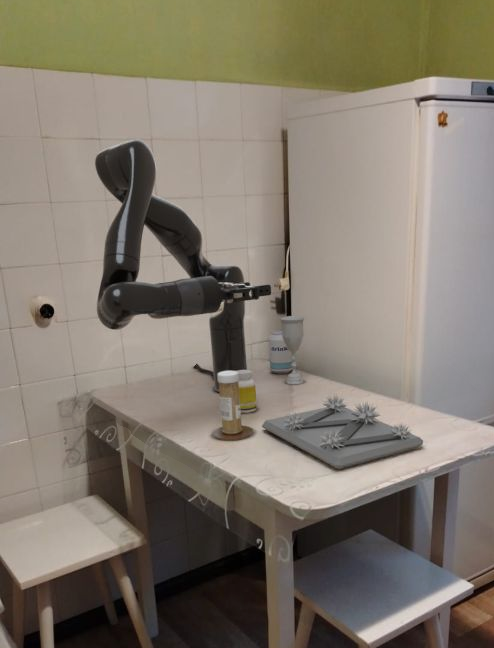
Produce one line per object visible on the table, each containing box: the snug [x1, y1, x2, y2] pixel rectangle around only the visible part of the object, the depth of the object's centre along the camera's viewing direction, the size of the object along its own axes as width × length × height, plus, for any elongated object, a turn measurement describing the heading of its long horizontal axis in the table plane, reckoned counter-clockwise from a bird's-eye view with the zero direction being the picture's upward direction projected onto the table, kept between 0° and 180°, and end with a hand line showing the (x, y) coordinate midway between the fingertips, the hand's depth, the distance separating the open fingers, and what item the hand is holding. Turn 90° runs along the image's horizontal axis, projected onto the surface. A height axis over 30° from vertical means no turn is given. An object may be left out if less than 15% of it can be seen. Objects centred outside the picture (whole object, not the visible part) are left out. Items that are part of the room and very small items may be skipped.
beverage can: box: [268, 330, 293, 375], centre depth 192 cm, size 7×7×12 cm
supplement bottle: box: [237, 369, 258, 414], centre depth 157 cm, size 5×5×10 cm
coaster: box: [212, 425, 254, 442], centre depth 142 cm, size 9×9×1 cm
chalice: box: [279, 315, 306, 385], centre depth 179 cm, size 7×7×18 cm
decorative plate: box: [261, 393, 424, 470], centre depth 134 cm, size 30×22×7 cm
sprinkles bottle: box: [217, 371, 243, 435], centre depth 139 cm, size 5×5×13 cm
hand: (259, 288), depth 141 cm, fingers open, 8 cm apart
